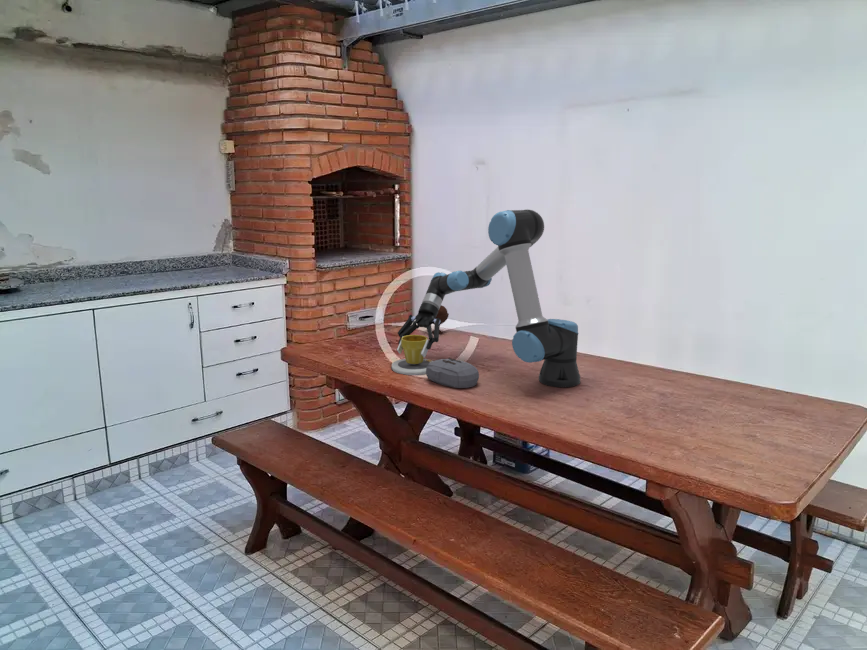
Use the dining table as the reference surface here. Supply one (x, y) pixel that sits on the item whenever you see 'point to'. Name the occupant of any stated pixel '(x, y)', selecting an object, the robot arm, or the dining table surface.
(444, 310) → the ice cream bowl
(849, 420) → the dining table surface
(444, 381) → the soft grey pack
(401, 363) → the base
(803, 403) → the dining table surface
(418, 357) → the plant pot
